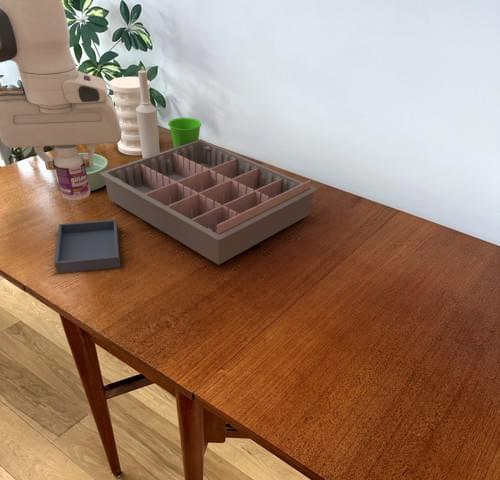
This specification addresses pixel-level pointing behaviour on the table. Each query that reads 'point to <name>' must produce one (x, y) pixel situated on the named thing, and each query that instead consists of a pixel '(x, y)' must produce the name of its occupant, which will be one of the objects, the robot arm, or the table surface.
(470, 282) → the table surface
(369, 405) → the table surface
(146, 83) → the bottle
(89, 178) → the bowl
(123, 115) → the decorative container
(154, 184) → the organizer tray
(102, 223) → the tray
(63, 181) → the pill bottle
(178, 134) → the cup
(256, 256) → the table surface
